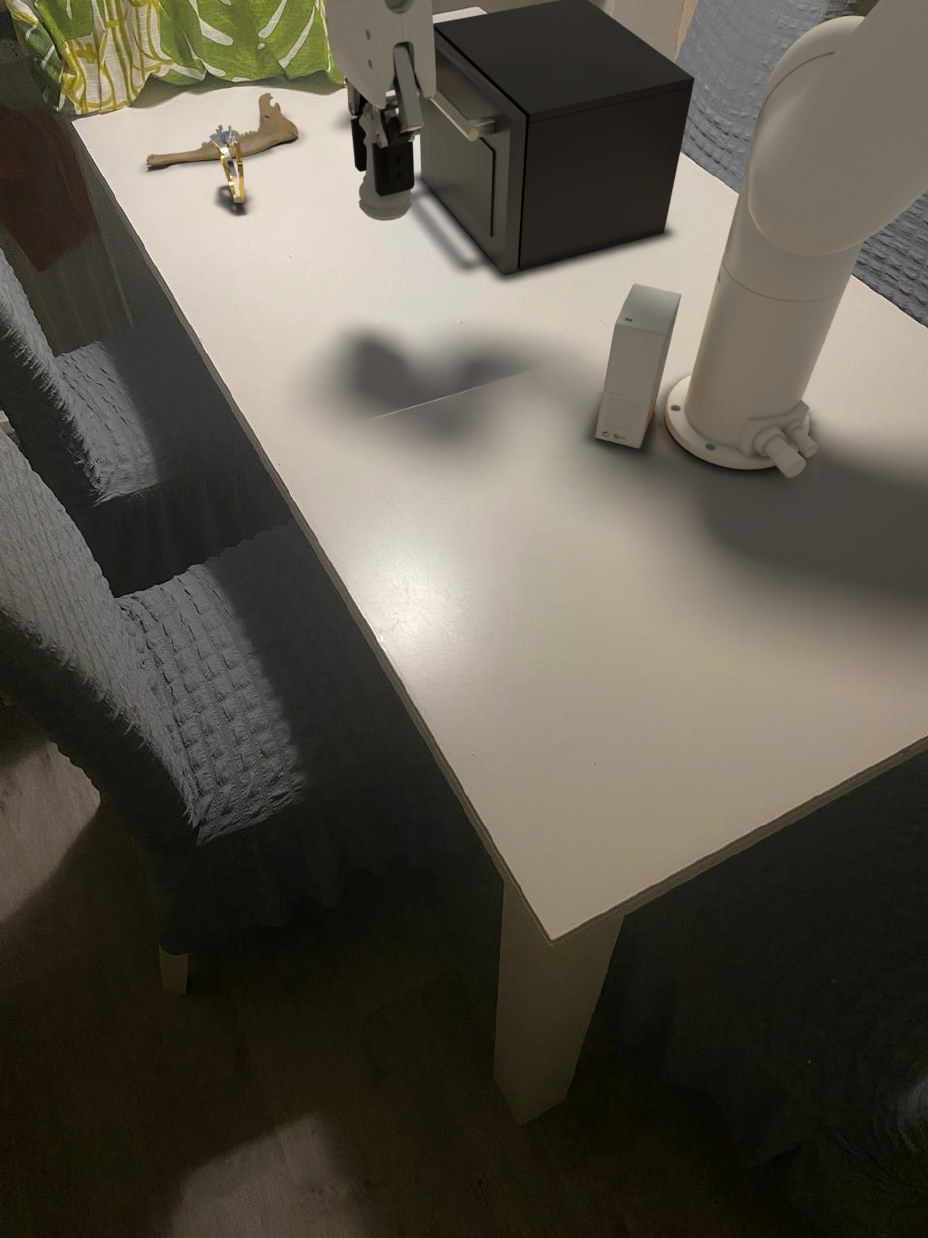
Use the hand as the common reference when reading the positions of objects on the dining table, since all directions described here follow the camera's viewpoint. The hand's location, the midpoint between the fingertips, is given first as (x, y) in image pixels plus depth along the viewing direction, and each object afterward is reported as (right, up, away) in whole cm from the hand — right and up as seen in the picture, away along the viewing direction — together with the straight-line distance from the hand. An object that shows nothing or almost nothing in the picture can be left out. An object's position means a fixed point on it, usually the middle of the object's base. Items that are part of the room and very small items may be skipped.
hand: (384, 176), depth 73 cm
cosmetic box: (+21, -18, +8) cm, 29 cm away
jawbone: (-24, +24, +39) cm, 51 cm away
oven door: (+5, +8, +27) cm, 29 cm away
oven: (+16, +12, +30) cm, 36 cm away
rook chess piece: (0, -2, +2) cm, 3 cm away
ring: (-19, +12, +30) cm, 38 cm away
